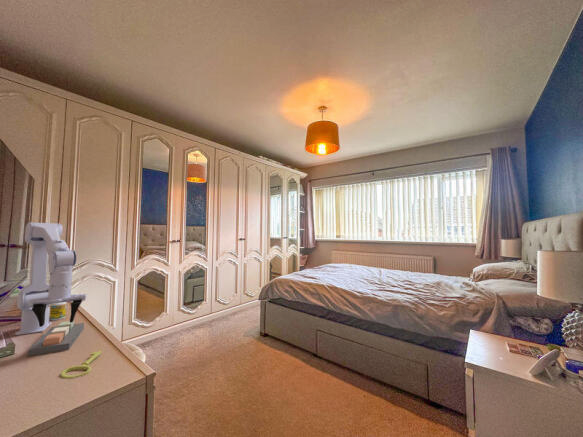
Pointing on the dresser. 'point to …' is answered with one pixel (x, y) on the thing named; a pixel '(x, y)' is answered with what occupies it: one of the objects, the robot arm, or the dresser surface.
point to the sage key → (66, 324)
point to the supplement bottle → (57, 311)
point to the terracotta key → (53, 339)
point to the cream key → (61, 330)
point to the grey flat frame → (62, 346)
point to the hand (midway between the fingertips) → (57, 323)
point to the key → (81, 367)
